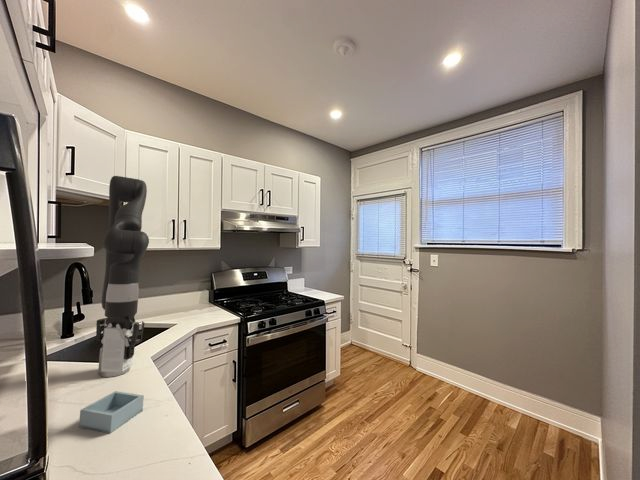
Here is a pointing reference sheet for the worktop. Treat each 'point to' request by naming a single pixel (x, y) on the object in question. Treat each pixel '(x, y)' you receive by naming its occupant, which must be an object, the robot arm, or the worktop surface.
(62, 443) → the worktop surface
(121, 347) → the skincare box
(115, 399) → the tray
